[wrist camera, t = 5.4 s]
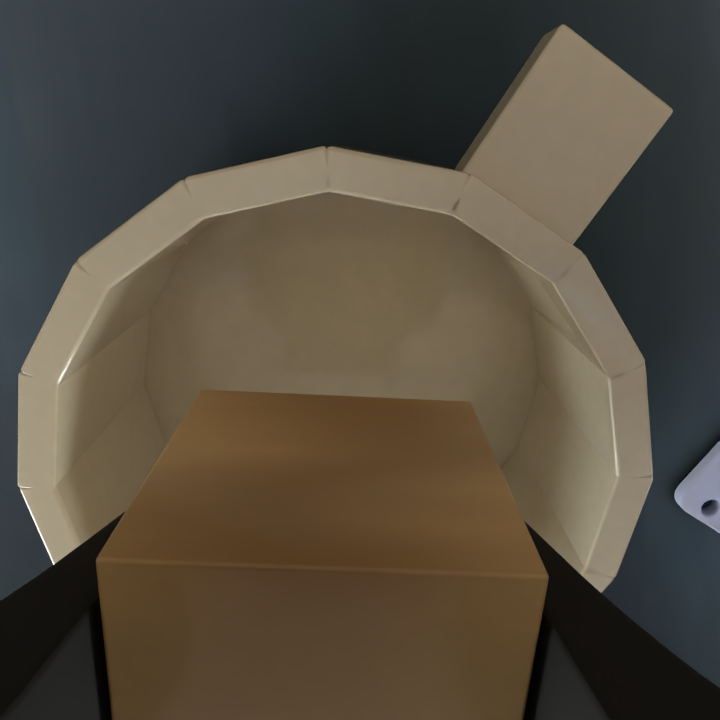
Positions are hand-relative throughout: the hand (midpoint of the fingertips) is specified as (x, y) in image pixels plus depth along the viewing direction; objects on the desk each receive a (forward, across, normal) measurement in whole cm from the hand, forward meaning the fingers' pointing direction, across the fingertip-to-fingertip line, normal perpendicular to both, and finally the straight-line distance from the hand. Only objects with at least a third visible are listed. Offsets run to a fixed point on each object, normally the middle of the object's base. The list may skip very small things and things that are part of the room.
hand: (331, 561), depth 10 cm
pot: (+8, 0, 0) cm, 8 cm away
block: (+1, 0, 0) cm, 1 cm away
